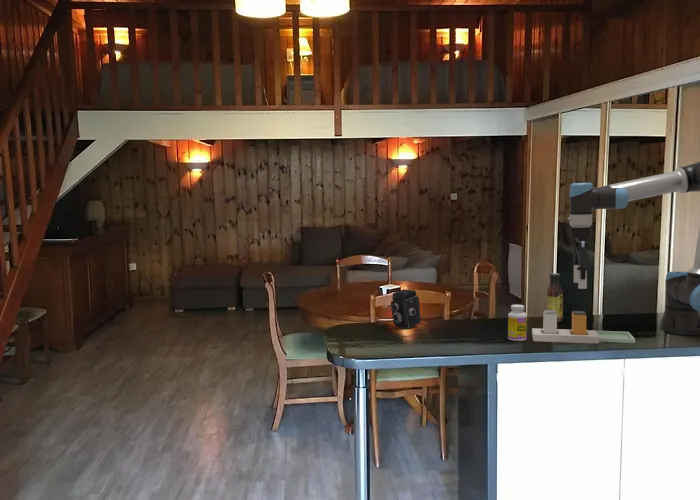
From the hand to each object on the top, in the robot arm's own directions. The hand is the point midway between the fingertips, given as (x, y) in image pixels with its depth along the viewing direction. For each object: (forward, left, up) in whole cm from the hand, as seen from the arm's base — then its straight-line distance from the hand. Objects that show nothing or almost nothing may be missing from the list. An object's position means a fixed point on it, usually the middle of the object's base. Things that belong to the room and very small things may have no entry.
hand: (579, 285), depth 218 cm
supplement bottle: (+22, +2, -21) cm, 30 cm away
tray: (-12, -4, -20) cm, 24 cm away
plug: (0, 0, -20) cm, 20 cm away
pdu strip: (+5, 0, -20) cm, 21 cm away
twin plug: (+10, 0, -20) cm, 22 cm away
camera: (+66, -13, -21) cm, 70 cm away
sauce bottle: (+6, -34, -21) cm, 40 cm away
